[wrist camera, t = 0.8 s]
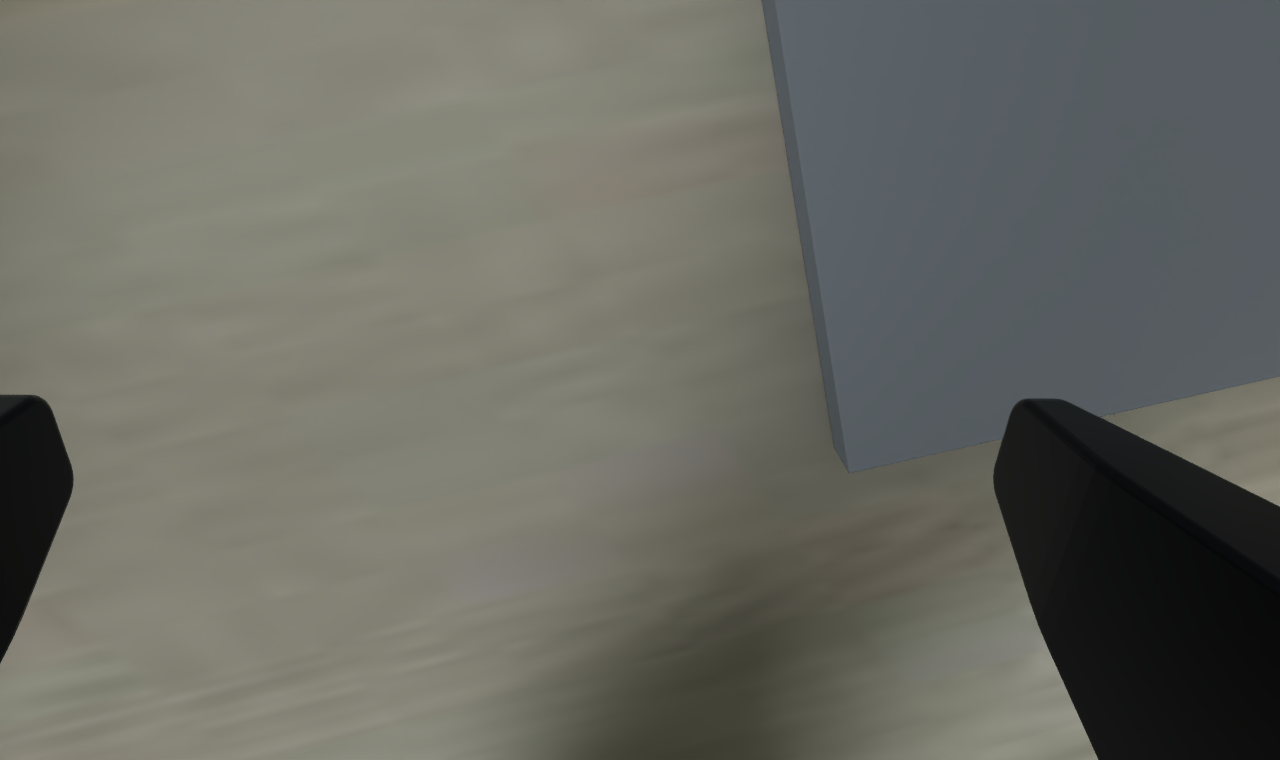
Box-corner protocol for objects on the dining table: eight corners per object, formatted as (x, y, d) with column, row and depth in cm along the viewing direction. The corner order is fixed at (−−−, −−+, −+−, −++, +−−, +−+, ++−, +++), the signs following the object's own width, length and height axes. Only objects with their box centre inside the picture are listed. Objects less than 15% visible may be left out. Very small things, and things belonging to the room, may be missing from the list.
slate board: (1275, 347, 25) (1315, 368, 23) (834, 447, 25) (848, 473, 24) (1294, -154, 20) (1346, -165, 19) (758, -23, 21) (770, -26, 19)
